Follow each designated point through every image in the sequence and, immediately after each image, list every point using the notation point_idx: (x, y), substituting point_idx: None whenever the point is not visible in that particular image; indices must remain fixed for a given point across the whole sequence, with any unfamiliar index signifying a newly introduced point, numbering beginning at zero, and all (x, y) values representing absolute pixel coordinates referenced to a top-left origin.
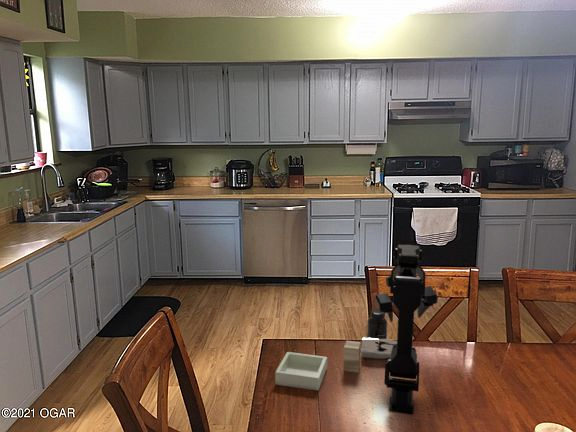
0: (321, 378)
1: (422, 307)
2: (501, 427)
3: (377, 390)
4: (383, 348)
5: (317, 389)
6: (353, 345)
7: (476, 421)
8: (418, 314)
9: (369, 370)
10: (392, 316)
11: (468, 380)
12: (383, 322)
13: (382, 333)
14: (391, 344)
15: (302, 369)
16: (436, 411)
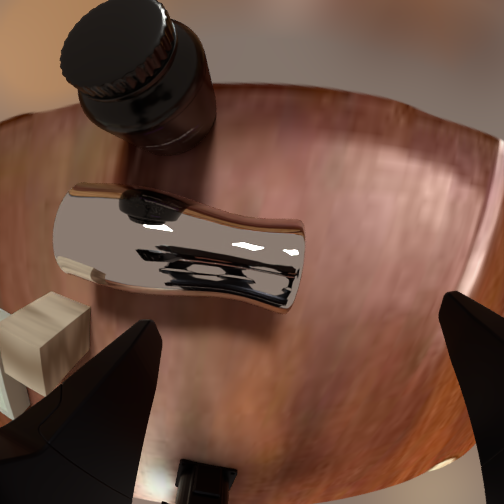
0: (18, 386)
1: (494, 465)
2: (373, 491)
3: (149, 432)
4: (157, 295)
5: (27, 405)
6: (24, 369)
7: (342, 491)
8: (455, 332)
9: None
10: (136, 457)
11: (420, 379)
12: (159, 107)
13: (171, 138)
14: (197, 285)
15: None
16: (279, 485)
